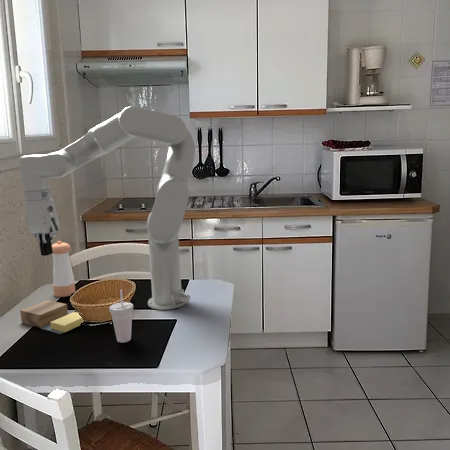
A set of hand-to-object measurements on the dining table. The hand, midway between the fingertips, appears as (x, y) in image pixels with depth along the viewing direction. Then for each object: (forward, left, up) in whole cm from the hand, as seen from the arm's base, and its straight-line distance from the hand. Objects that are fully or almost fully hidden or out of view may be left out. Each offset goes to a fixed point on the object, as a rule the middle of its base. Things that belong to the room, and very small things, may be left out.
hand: (47, 254), depth 153 cm
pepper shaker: (+13, -15, -20) cm, 28 cm away
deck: (-2, +5, -19) cm, 20 cm away
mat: (-11, +5, -19) cm, 23 cm away
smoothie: (-34, +5, -20) cm, 40 cm away
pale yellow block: (-13, +5, -17) cm, 22 cm away
